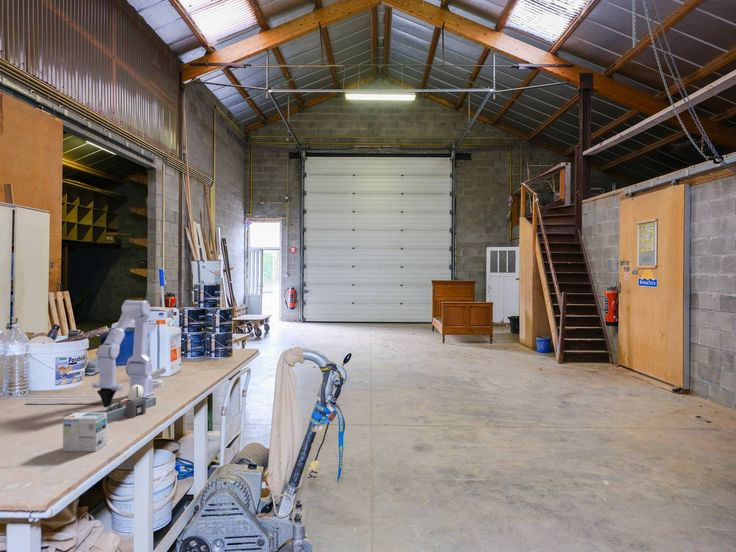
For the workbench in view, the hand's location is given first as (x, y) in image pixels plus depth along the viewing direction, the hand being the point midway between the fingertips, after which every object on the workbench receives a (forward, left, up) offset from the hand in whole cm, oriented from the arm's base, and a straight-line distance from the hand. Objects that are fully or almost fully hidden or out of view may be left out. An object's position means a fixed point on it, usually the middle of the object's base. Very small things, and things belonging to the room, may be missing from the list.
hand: (107, 406), depth 188 cm
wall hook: (-37, -11, -2) cm, 39 cm away
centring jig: (0, +8, -1) cm, 8 cm away
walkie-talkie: (-3, +5, -2) cm, 6 cm away
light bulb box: (+32, +28, -2) cm, 42 cm away
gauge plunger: (0, +13, 0) cm, 13 cm away
